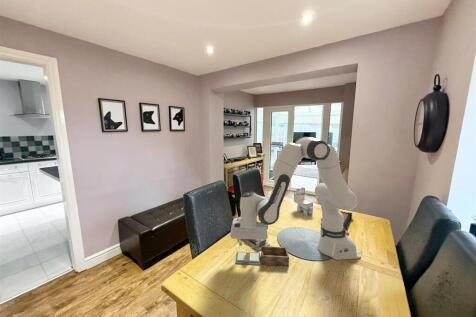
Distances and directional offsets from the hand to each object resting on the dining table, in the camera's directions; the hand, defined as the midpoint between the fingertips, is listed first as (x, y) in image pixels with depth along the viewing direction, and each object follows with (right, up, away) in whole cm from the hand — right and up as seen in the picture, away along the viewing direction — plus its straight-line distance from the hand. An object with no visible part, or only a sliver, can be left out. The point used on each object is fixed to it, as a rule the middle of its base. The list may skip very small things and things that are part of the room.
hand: (249, 245), depth 108 cm
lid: (-1, -7, +1) cm, 7 cm away
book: (+70, -2, +45) cm, 83 cm away
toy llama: (+50, +1, +61) cm, 79 cm away
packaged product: (+4, -6, +17) cm, 19 cm away
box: (+14, -8, -1) cm, 16 cm away
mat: (-1, -8, +1) cm, 8 cm away
